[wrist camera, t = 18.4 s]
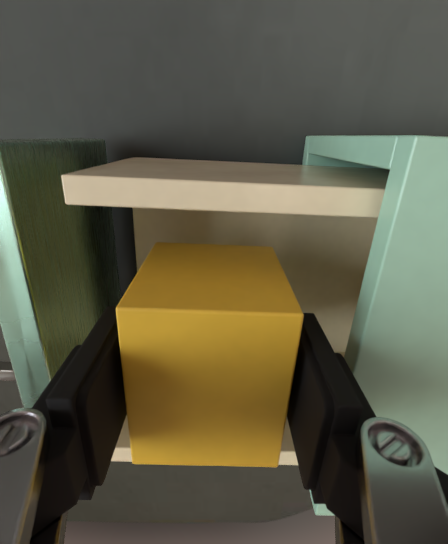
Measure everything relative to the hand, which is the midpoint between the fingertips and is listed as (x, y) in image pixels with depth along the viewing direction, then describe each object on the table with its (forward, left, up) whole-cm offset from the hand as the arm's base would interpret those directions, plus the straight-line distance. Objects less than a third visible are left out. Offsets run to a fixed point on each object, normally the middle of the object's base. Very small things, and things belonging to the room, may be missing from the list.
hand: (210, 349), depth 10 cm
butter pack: (0, 0, -3) cm, 3 cm away
